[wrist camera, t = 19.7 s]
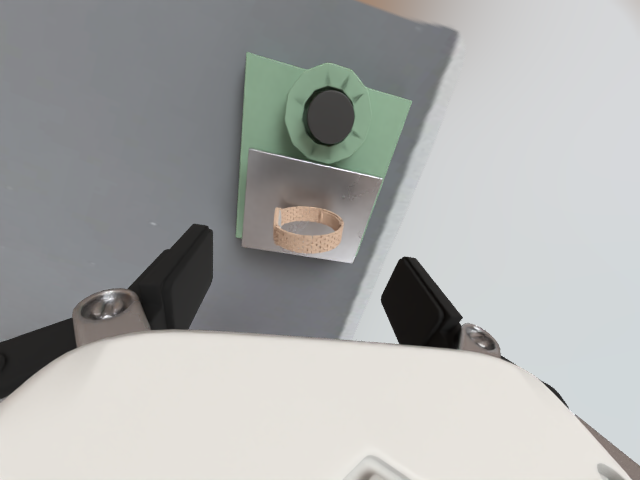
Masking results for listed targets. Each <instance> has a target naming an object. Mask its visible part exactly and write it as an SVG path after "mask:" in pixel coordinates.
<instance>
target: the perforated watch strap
mask: <svg viewBox="0 0 640 480" xmlns="http://www.w3.org/2000/svg"><path fill="white" fill-rule="evenodd" d="M309 208H310V209H309ZM309 211H310V213H309ZM319 211H320V212H319ZM302 215H303V217H302ZM315 217H316V218H315ZM305 218H306V219H305ZM294 221H310V222H317V223H321V224H324V225H327V226H329V227H331V228H332V229H333V230H334V231H335V232H332V233H329V234H325V235H321V236H320V235H314V236H313V237H312V235H300V234H295V233H291V232H288V231H285V230H283V229H281V226H282V225H284V223H285V224H286V223H289V222H294ZM343 227H344V222H343V220H342V218H341V217H340V216H338V215H337V214H335V213H333V212H331V211H328V210H325V209H322V208H316V207H308V206H296V207H288V208H284V209H281V208H278V207H276V208H275V213H274V222H273V239H274V244H276V246H281V247H282V248H284V249H287V250H290V251H292V252H293V251H295V252H297V253H302V251H303V253H309V254H311V253H312V254H314V253H323V252H326V251H330V250H332V249H334V248H336V247H337V246H338V245H339V244H340V242H341V238H342V232H343ZM303 236H304V237H303ZM307 239H308V240H307ZM303 241H304V242H303ZM294 245H295V246H294ZM311 246H312V248H311ZM319 246H320V247H319ZM298 248H299V249H298Z"/></svg>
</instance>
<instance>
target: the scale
mask: <svg viewBox="0 0 640 480" xmlns="http://www.w3.org/2000/svg"><path fill="white" fill-rule="evenodd" d="M327 90H335V91H339V92H341V93H343V94H344V95H345V96H346V97H347V98H348V99H349V100H350V102H351V104H352V106H353V110H354V123H353V126H352V129H351V131H350V133H349V134H348V135H347V136H346V137H345V138H344V139H343V140H342V141H340V142H338V143H334V144H326V143H323V142H321V141H319V140H317V139H316V138H315V137H314V136H313V134H312V133H311V131H310V129H309V127H308V124H307V111H308V107H309V105H310V103H311V102H312V100H313V99H314V98H315V97H316V96H317V95H318V94H320V93H321V92H324V91H327ZM411 103H412V101H410V100H407V99H403V98H400V97H397V96H393V95H390V94H387V93H383V92H380V91H376V90H373V89H370V88H366V87H365V86H364V84H363V83H362V82H361V81H360V79H359V78H358V77H357V76H356V74H355V73H354V72H353V71H352V70H351V69H348V68H345V67H342V66H338V65H335V64H332V63H324V64H322V65H319V66H316V67H314V68H311V69H308V70H306V69H302V68H299V67H296V66H292V65H289V64H285V63H282V62H279V61H275V60H272V59H269V58H265V57H262V56H259V55H255V54H252V53H248V52H247V53H246V68H245V85H244V102H243V119H242V137H241V154H240V171H239V188H238V205H237V222H236V238H242V233H243V220H244V206H245V193H246V179H247V166H248V152H249V148H256V149H260V150H264V151H269V152H273V153H278V154H282V155H286V156H291V157H295V158H300V159H304V160H309V161H313V162H317V163H322V164H326V165H331V166H335V167H339V168H344V169H348V170H353V171H357V172H362V173H366V174H370V175H375V176H379V177H381V178H383V180H382V183H383V181H384V178H385V175H386V172H387V170H388V167H389V164H390V161H391V158H392V156H393V153H394V150H395V147H396V145H397V142H398V139H399V136H400V134H401V131H402V128H403V125H404V122H405V120H406V117H407V114H408V111H409V109H410V106H411ZM382 183H381V186H382ZM381 186H380V188H379V191H378V194H377V197H378V195H379V192H380V189H381ZM377 197H376V199H375V202H374V205H373V208H374V206H375V203H376V200H377ZM373 208H372V211H373ZM372 211H371V213H370V216H369V219H370V217H371V214H372ZM369 219H368V222H369ZM368 222H367V225H368ZM367 225H366V227H365V230H364V233H365V231H366V228H367ZM364 233H363V236H364ZM363 236H362V239H363ZM362 239H361V241H360V244H361V242H362ZM360 244H359V247H360ZM359 247H358V250H359ZM358 250H357V253H358ZM357 253H356V255H355V256H357Z"/></svg>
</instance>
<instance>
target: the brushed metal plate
mask: <svg viewBox="0 0 640 480" xmlns="http://www.w3.org/2000/svg"><path fill="white" fill-rule="evenodd" d="M382 180H383V178H381V177H379V176H375V175H370V174H366V173H362V172H357V171H353V170H348V169H344V168H339V167H335V166H331V165H326V164H322V163H317V162H313V161H309V160H304V159H300V158H295V157H291V156H286V155H282V154H278V153H273V152H269V151H264V150H260V149H256V148H249V152H248V166H247V179H246V193H245V206H244V220H243V233H242V247H248V248H254V249H261V250H267V251H274V252H281V253H287V254H294V255H300V256H307V257H314V258H320V259H327V260H333V261H340V262H347V263H353V261H354V258H355V255H356V253H357V250H358V247H359V244H360V241H361V239H362V236H363V233H364V230H365V227H366V225H367V222H368V219H369V216H370V213H371V211H372V208H373V205H374V202H375V199H376V197H377V194H378V191H379V188H380V186H381V183H382ZM296 206H308V207H316V208H322V209H325V210H328V211H331V212H333V213H335V214H337V215H338V216H340V217H341V218H342V220H343V222H344V227H343V232H342V238H341V242H340V244H339V245H338V246H337V247H336V248H334V249H332V250H330V251H326V252H323V253H314V254H312V253H311V254H309V253H303V251H302V253H297V252H295V251H293V252H292V251H290V250H287V249H284V248H282V247H281V246H276V244H274V239H273V222H274V213H275V208H276V207H278V208H281V209H284V208H288V207H296ZM309 209H310V208H309ZM319 212H320V211H319ZM309 213H310V211H309ZM302 217H303V215H302ZM315 218H316V217H315ZM305 219H306V218H305ZM281 229H283V230H285V231H288V232H291V233H295V234H300V235H312V237H313V236H314V235H320V236H321V235H325V234H329V233H332V232H335V231H334V230H333V229H332V228H331V227H329V226H327V225H324V224H321V223H317V222H310V221H294V222H289V223H286V224H285V223H284V225H282V226H281ZM303 237H304V236H303ZM307 240H308V239H307ZM303 242H304V241H303ZM294 246H295V245H294ZM319 247H320V246H319ZM311 248H312V246H311ZM298 249H299V248H298Z"/></svg>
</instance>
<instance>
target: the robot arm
mask: <svg viewBox="0 0 640 480" xmlns="http://www.w3.org/2000/svg"><path fill="white" fill-rule="evenodd" d="M212 279H213V231H212V230H211V229H209V228H208V226H206V225H199V224H193V225H192V226H191V227H190V228H189V229H188V230H187V231H186V232H185V233H184V234H183V235H182V237H181V238H180V239H179V240H178V241H177V242H176V243H175V244H174V245H173V246H172V247H171V248H170V249H167V250H165V251H163V252H162V253H161V254H160V255H159V256H158V257H157V259H156V260H155V261H154V262H153V263H152V264H151V265H150V266H149V267H148V268H147V269H146V270H145V271H144V272H143V273H142V274H141V275H140V276H139V277H138V278H137V280H136V281H135V282H134V283H133V284H132V285H131V286H130V287H129V288H128V289H123V288H117V289H108V290H103V291H100V292H97V293H94V294H92V295H90V296H88V297H86V298H85V299H83V300H82V301H81V302H80V303H78V304H77V306H76V307H75V308H74V310H73V315H72V317H73V318H70V319H67V320H64V321H61V322H58V323H55V324H53V325H50V326H47V327H44V328H41V329H38V330H35V331H32V332H29V333H27V334H24V335H21V336H18V337H15V338H12V339H9V340H6V341H3V342H1V343H0V480H640V466H639V465H638V464H637V463H635V462H634V461H633V460H631V459H630V458H629V457H628V456H626V455H625V454H624V453H623V452H622V451H620V450H619V449H618V448H617V447H615V446H614V445H613V444H612V443H610V442H609V441H608V440H607V439H605V438H604V437H603V436H602V435H600V434H599V433H598V432H597V431H596V430H594V429H593V428H592V427H591V426H589V425H588V424H587V423H586V422H584V421H583V420H582V419H581V418H579V417H578V416H577V415H574V414H573V413H572V412H571V411H570V410H569V408H568V406H567V404H566V403H565V401H564V400H563V399H562V397H561V396H560V394H559V393H558V392H557V391H556V390H555V389H554V388H552V387H551V386H550V385H548V384H546V383H544V382H542V381H541V380H539V379H538V378H537V377H535V376H534V375H532V374H531V373H529V372H528V371H526V370H524V369H522V368H520V367H518V366H517V365H515V364H514V363H512V362H511V361H509V360H507V359H506V358H504V357H503V356H501V354H500V347H499V345H498V343H497V342H496V340H495V339H494V338H493V337H492V336H491V335H490V334H489V333H487V332H486V331H485V330H483V329H482V328H480V327H478V326H476V325H473V324H470V323H465V324H463V325H462V326H461V325H460V323H459V322H460V320H461V319H462V318H463V317H462V316H461V315H460V313H459V312H458V311H457V310H456V308H455V307H454V306H453V305H452V303H451V302H450V301H449V300H448V298H447V297H446V296H445V295H444V293H443V292H442V291H441V289H440V288H439V287H438V286H437V285H436V283H435V282H434V281H433V279H432V278H431V277H430V276H429V274H428V273H427V272H426V271H425V269H424V268H423V267H422V266H421V264H420V263H419V262H418V261H417V259H416V258H411V257H403V258H402V259H400V260H399V261H398V263H397V265H396V267H395V269H394V271H393V273H392V275H391V278H390V280H389V281H388V284H387V286H386V288H385V290H384V292H383V294H382V296H381V303H382V305H383V307H384V309H385V312H386V314H387V317H388V319H389V321H390V324H391V326H392V328H393V330H394V333H395V335H396V337H397V340H398V342H399V344H390V343H378V342H365V341H352V340H339V339H326V338H312V337H299V336H284V335H270V334H256V333H242V332H225V331H208V330H188V329H189V327H190V325H191V323H192V321H193V319H194V317H195V315H196V313H197V311H198V309H199V307H200V305H201V303H202V301H203V299H204V297H205V295H206V293H207V291H208V289H209V287H210V285H211V282H212Z"/></svg>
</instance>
